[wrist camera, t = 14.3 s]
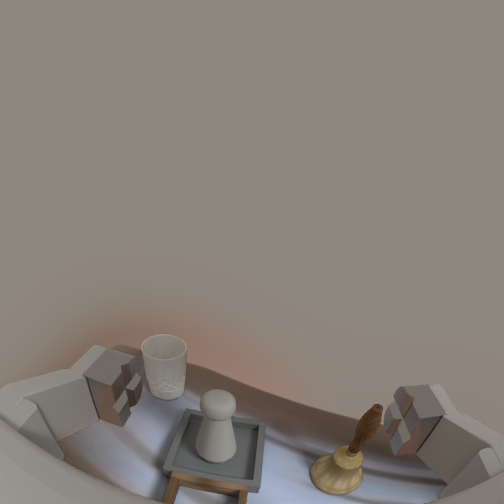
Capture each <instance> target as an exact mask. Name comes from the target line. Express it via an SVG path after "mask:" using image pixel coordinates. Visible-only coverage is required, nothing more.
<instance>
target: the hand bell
mask: <svg viewBox="0 0 504 504" xmlns="http://www.w3.org/2000/svg"><path fill="white" fill-rule="evenodd" d="M382 410H383V407H382V406H381V405H379V404H375V405H374V406H373V407H372V408H371V409H370V410H369V411H367V412H366V413H365V414H364V415H363V416H362V418H361V419H360V421H359V423H358V426H357V428H356V435H355V438H354V440H353V441H352V443H351V444H350V446H342V447H339V448H338V449H337V450H336V451H335V452H334V453H333V454H328V455H325V456H322V457H321V458H319V459H318V460H316V461H315V463H314V464H313V466H312V468H311V479H312V481H313V483H314V484H315V485H316V487H317V488H319V489H320V490H321V491H323V492H325V493H328V494H333V495H343V494H347V493H349V492H352V491H353V490H355V489H356V488H357V487H358V486H359V485H360V483H361V481H362V478H363V471H362V468H361V464H362V462H363V454H362V452H361V451H360V449H361V447H362V446H363V444H364V442H365V441H366V440H367V439H369V438H370V437H371V436H372V435H373V434H374V433H375V431H376V430H377V429H378V427H379V425H380V422H381V416H382Z"/></svg>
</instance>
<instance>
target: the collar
mask: <svg viewBox="0 0 504 504" xmlns="http://www.w3.org/2000/svg"><path fill="white" fill-rule="evenodd" d="M179 486H184V487H188V488H193V489H197V490H202V491H207V492H212V493H218V494H224V495H231V496H238V497H239V498H238V504H246V501H247V494H248V487H249V485H244V484H237V483H230V482H223V481H217V480H212V479H207V478H202V477H197V476H192V475H188V474H184V473H180V472H176V471H172V474H171V477H170V480H169V482H168V485H167V488H166V491H165V493H164V496H163V499H162V503H165V504H174V501H175V498H176V495H177V492H178V489H179Z"/></svg>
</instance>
